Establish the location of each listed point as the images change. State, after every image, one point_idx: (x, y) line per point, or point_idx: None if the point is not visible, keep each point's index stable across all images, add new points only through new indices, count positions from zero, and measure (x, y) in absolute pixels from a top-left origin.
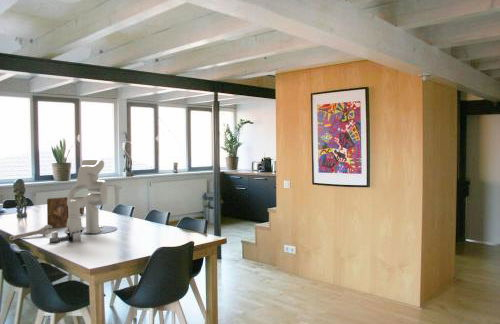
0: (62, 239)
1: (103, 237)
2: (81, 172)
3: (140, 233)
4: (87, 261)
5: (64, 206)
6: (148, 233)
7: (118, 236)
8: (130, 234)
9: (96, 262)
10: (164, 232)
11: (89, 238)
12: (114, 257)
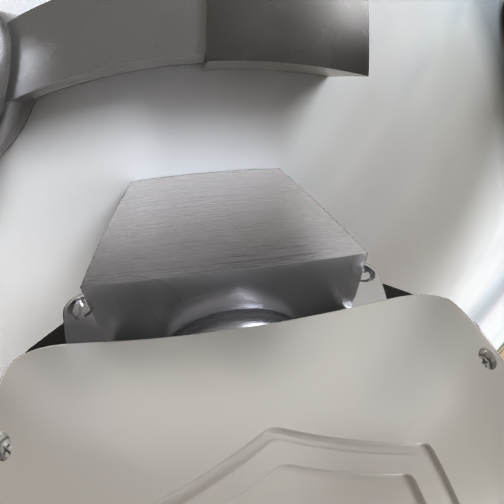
0: (61, 84)
1: (450, 287)
2: None
3: (501, 313)
4: None
5: None
6: (496, 328)
7: (468, 315)
8: (494, 308)
9: None
10: (497, 339)
11: (410, 237)
12: None
